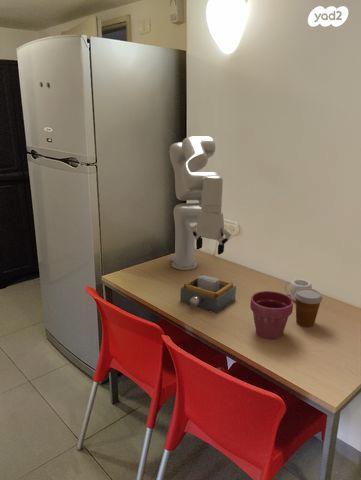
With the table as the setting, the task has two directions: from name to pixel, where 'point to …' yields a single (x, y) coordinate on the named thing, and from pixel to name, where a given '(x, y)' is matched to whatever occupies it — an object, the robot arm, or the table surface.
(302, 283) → the mug
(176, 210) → the robot arm
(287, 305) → the plant pot
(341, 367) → the table surface
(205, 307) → the box
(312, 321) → the disposable coffee cup
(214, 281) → the medicine box
